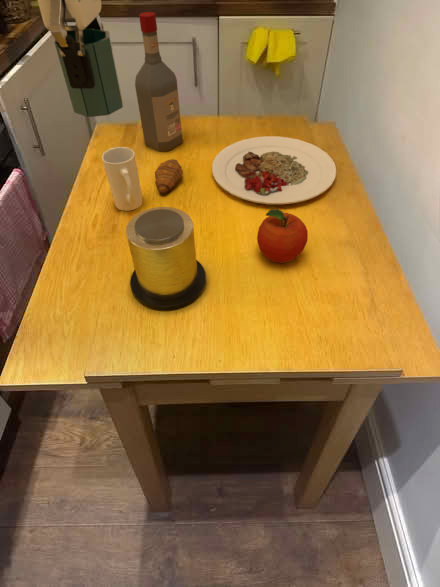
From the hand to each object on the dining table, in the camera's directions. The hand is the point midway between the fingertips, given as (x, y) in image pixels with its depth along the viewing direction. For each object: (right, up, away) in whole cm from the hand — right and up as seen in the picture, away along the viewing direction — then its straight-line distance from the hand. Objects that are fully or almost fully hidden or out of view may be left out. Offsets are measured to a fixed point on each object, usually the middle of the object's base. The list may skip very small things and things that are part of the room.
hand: (91, 74), depth 57 cm
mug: (-2, -11, +36) cm, 37 cm away
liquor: (+3, +11, +55) cm, 56 cm away
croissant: (+6, -3, +42) cm, 43 cm away
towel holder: (+8, -29, +19) cm, 36 cm away
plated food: (+31, -1, +44) cm, 54 cm away
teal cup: (0, -3, +3) cm, 4 cm away
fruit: (+30, -23, +24) cm, 45 cm away
